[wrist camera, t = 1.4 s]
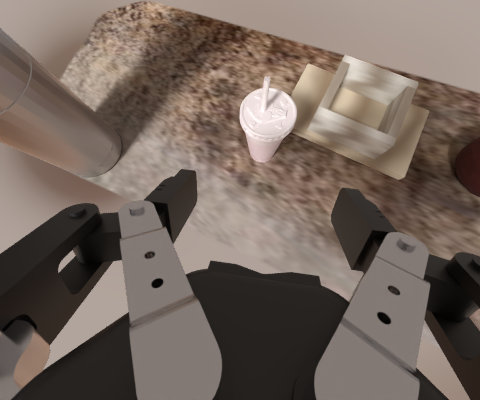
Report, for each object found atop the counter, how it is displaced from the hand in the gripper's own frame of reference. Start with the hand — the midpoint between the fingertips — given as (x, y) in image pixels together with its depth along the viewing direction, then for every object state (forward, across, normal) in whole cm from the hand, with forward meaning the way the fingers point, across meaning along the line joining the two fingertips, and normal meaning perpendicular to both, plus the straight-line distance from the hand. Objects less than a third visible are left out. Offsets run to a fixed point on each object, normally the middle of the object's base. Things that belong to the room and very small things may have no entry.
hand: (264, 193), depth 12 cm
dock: (+26, -13, 0) cm, 29 cm away
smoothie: (+21, 0, +5) cm, 22 cm away
